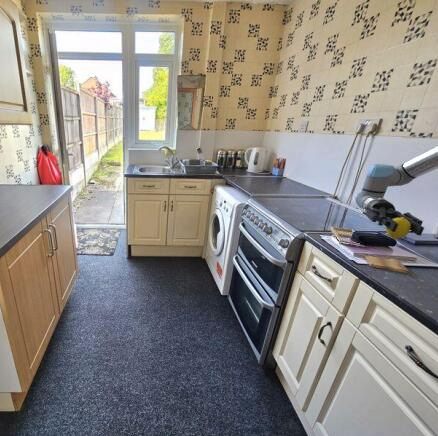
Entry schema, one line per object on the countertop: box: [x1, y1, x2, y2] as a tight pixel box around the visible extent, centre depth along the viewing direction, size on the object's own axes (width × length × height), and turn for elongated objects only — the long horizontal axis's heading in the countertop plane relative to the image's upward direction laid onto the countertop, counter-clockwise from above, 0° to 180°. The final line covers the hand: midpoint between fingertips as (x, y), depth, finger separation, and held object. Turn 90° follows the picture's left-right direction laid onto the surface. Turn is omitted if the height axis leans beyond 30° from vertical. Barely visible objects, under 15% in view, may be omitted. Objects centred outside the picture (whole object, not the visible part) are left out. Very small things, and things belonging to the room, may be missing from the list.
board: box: [364, 256, 410, 274], centre depth 87 cm, size 10×8×1 cm
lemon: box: [385, 217, 411, 240], centre depth 82 cm, size 6×6×8 cm
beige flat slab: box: [329, 225, 360, 245], centre depth 107 cm, size 9×17×1 cm, turn 156°
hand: (407, 229), depth 77 cm, fingers closed on lemon, 5 cm apart
